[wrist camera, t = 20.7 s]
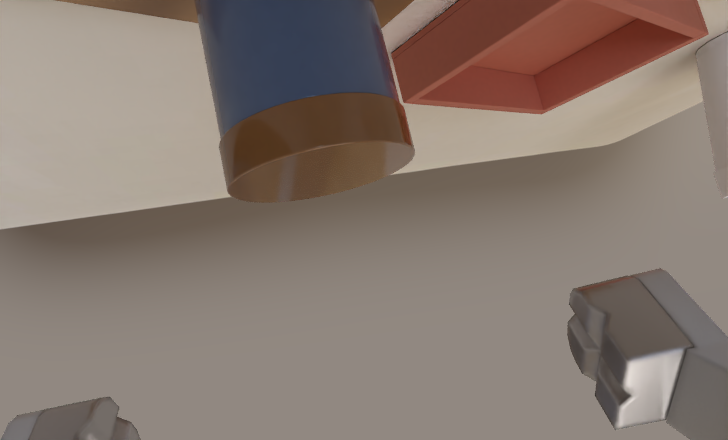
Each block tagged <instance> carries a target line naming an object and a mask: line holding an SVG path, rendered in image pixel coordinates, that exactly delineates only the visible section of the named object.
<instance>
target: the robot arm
mask: <svg viewBox="0 0 728 440" xmlns="http://www.w3.org/2000/svg"><path fill="white" fill-rule="evenodd" d="M569 305H570V306H571V308H572V310H573V311H574V313H575V314H574V315H573V316H572V318H571V319H570V320H569V321H568V334H567V335H568V340H569V344H570V349H571V352H572V354H573V356H574V359H575V361H576V363H577V365H578V367H579V369H580V370H581V372H582V374H584V375H586V376H588V377H589V378H591V379H592V380H594V381H596V382H597V383H596V391H595V396H596V398H597V400H598V402H599V403H600V405H601V407H602V409H603V410H604V412H605V414H606V415H607V417H608V419H609V420H610V422H611V424H612V425H613V427H614V429H615V430H617V429H622V428H627V427H632V426H637V425H642V424H647V423H652V422H657V421H662V420H667V421H666V423H667V424H669V425H670V426H672V427H673V428H675V429H676V430H677V431H679V432H680V433H682V434H683V435H684V436H686V437H687V438H689V439H690V440H728V337H727V336H726V335H725V333H724V332H723V331H722V330H721V329H720V328H719V327H718V326H717V325H716V324H715V323H714V321H713V320H712V319H711V318H710V317H709V316H708V315H707V314H706V313H705V312H704V311H703V310H702V309H701V307H699V305H698V304H697V303H696V302H695V301H694V300H693V299H692V298H691V297H690V296H689V295H688V293H686V291H685V290H684V289H683V288H682V287H681V286H680V285H679V284H678V283H677V282H676V280H674V278H673V277H672V276H671V275H670V274H669V273H668V272H667V271H665V270H662V269H661V268H660V269H655V270H651V271H647V272H642V273H638V274H634V275H631V276H623V277H619V278H615V279H611V280H607V281H603V282H599V283H594V284H590V285H586V286H582V287H578V288H574V289H573V290H572V292H571V293H570V302H569ZM118 410H119V406H118V405H117V404H116V403H115V402H114V401H113V400H112V399H111V398H110V397H103V398H98V399H92V400H88V401H83V402H78V403H73V404H68V405H63V406H58V407H53V408H48V409H44V410H40V411H35V412H30V413H25V414H21V415H17V416H16V417H15V418H14V419H13V420H12V421H11V422H10V423H9V424H8V425H7V427H6V430H5V432H4V434H3V436H2V438H1V440H141V439H140V437H139V434H138V431H137V429H136V428H135V427H134V425H133V424H132V423H131V422H130V421H127V420H124V419H122V418H119V417H117V414H118Z"/></svg>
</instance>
